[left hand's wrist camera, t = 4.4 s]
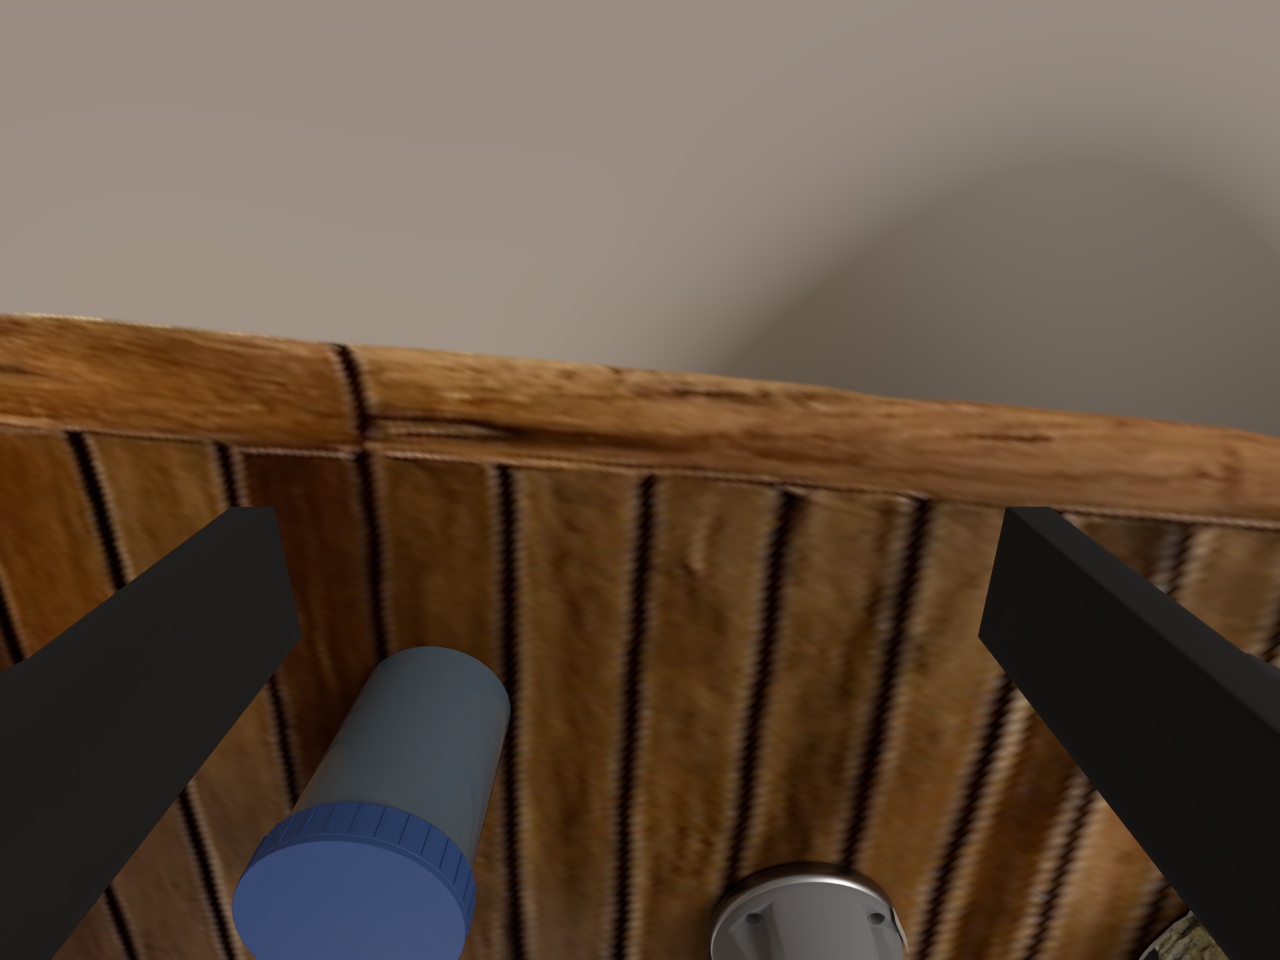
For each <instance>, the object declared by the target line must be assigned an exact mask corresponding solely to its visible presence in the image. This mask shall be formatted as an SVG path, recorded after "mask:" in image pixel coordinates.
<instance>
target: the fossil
mask: <svg viewBox="0 0 1280 960" xmlns="http://www.w3.org/2000/svg"><path fill="white" fill-rule="evenodd" d="M1139 960H1229V959H1228V958H1227V956H1226V955H1225V954H1224V952H1223V951H1222V950H1221V949H1220V947H1219V946H1218V945H1217V943H1216V942H1215V941H1214V940H1213V938H1212V937H1211V936H1210V934H1209V933H1208V932H1207V931H1206V929H1205V928H1204V927H1203V925H1202V924H1201V923H1200V922H1199V920H1198V919H1197V918H1196V916H1195V915H1194V914H1193V913H1192V911H1191V910H1190V912H1189V913H1188V915H1187V916H1186V917H1184V918H1182V919H1180V920H1179V921H1177V922H1175V923H1174V924H1173V925H1172V926H1170V927H1169V928H1168V929H1167V930H1166V931H1165V932H1164V933H1163V934H1162V935H1161V936H1160V937H1158V938H1157V939H1156V940H1155V941H1154V942H1153V943H1152V944H1151V945H1150V946H1149V947H1148V949H1147V950H1146V951H1145V952H1144V953H1143V954H1142V956H1141V957H1140V959H1139Z"/></svg>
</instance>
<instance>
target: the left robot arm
mask: <svg viewBox="0 0 1280 960" xmlns="http://www.w3.org/2000/svg"><path fill="white" fill-rule="evenodd" d="M301 637H302V634H301V630H300V625H299V621H298V616H297V611H296V607H295V602H294V598H293V593H292V588H291V584H290V579H289V574H288V570H287V565H286V561H285V556H284V551H283V547H282V542H281V538H280V533H279V528H278V524H277V519H276V515H275V510H274V507H230V508H229V509H228V510H226V511H225V512H224V513H222V514H221V515H220V516H218V517H217V518H216V519H214V520H213V521H212V522H210V523H209V524H208V525H206V526H205V527H204V528H202V529H201V530H200V531H198V532H197V533H196V534H194V535H193V536H191V537H190V538H189V539H187V540H186V541H185V542H183V543H182V544H181V545H179V546H178V547H177V548H175V549H174V550H173V551H171V552H170V553H169V554H167V555H166V556H165V557H163V558H162V559H161V560H159V561H158V562H157V563H155V564H154V565H153V566H151V567H150V568H149V569H147V570H146V571H145V572H143V573H142V574H141V575H139V576H138V577H137V578H135V579H134V580H133V581H131V582H130V583H129V584H127V585H126V586H125V587H123V588H122V589H121V590H119V591H118V592H116V593H115V594H114V595H112V596H111V597H110V598H108V599H107V600H106V601H104V602H103V603H102V604H100V605H99V606H98V607H96V608H95V609H94V610H92V611H91V612H90V613H88V614H87V615H86V616H84V617H83V618H82V619H80V620H79V621H78V622H76V623H75V624H74V625H72V626H71V627H70V628H68V629H67V630H66V631H64V632H63V633H62V634H60V635H59V636H58V637H56V638H55V639H54V640H52V641H51V642H50V643H48V644H47V645H46V646H44V647H43V648H41V649H40V650H39V651H37V652H36V653H35V654H33V655H32V656H31V657H29V658H27V659H25V660H23V661H21V662H19V663H17V664H15V665H13V666H11V667H9V668H7V669H5V670H3V671H1V672H0V960H51V959H52V958H53V956H54V955H55V954H56V952H57V951H58V950H59V949H60V947H61V946H62V945H63V943H64V942H65V941H66V940H67V938H68V937H69V936H70V934H71V933H72V932H73V931H74V929H75V928H76V927H77V925H78V924H79V923H80V922H81V920H82V919H83V918H84V916H85V915H86V914H87V913H88V911H89V910H90V909H91V907H92V906H93V905H94V904H95V902H96V901H97V900H98V898H99V897H100V896H101V895H102V893H103V892H104V891H105V889H106V888H107V887H108V886H109V884H110V883H111V882H112V880H113V879H114V878H115V877H116V875H117V874H118V873H119V871H120V870H121V869H122V868H123V866H124V865H125V864H126V862H127V861H128V860H129V859H130V857H131V856H132V855H133V853H134V852H135V851H136V850H137V848H138V847H139V846H140V844H141V843H142V842H143V840H144V839H145V838H146V837H147V835H148V834H149V833H150V831H151V830H152V829H153V828H154V826H155V825H156V824H157V822H158V821H159V820H160V819H161V817H162V816H163V815H164V813H165V812H166V811H167V810H168V808H169V807H170V806H171V804H172V803H173V802H174V801H175V799H176V798H177V797H178V795H179V794H180V793H181V792H182V790H183V789H184V788H185V786H186V785H187V784H188V783H189V781H190V780H191V779H192V777H193V776H194V775H195V774H196V772H197V771H198V770H199V768H200V767H201V766H202V765H203V763H204V762H205V761H206V759H207V758H208V757H209V756H210V754H211V753H212V752H213V750H214V749H215V748H216V747H217V745H218V744H219V743H220V741H221V740H222V739H223V738H224V736H225V735H226V734H227V732H228V731H229V730H230V729H231V727H232V726H233V725H234V723H235V722H236V721H237V720H238V718H239V717H240V716H241V714H242V713H243V712H244V711H245V709H246V708H247V707H248V705H249V704H250V703H251V702H252V700H253V699H254V698H255V696H256V695H257V694H258V693H259V691H260V690H261V689H262V687H263V686H264V685H265V684H266V682H267V681H268V680H269V678H270V677H271V676H272V675H273V673H274V672H275V671H276V669H277V668H278V667H279V665H280V664H281V663H282V662H283V660H284V659H285V658H286V656H287V655H288V654H289V653H290V651H291V650H292V649H293V647H294V646H295V645H296V644H297V642H298V641H299V640H300V638H301ZM978 637H979V638H980V640H981V641H982V642H983V644H984V645H985V646H986V647H987V649H988V650H989V651H990V653H991V654H992V655H993V656H994V658H995V659H996V660H997V662H998V663H999V664H1000V665H1001V667H1002V668H1003V669H1004V671H1005V672H1006V673H1007V675H1008V676H1009V677H1010V678H1011V680H1012V681H1013V682H1014V684H1015V685H1016V686H1017V687H1018V689H1019V690H1020V691H1021V693H1022V694H1023V695H1024V696H1025V698H1026V699H1027V700H1028V702H1029V703H1030V704H1031V705H1032V707H1033V708H1034V709H1035V711H1036V712H1037V713H1038V714H1039V716H1040V717H1041V718H1042V720H1043V721H1044V722H1045V723H1046V725H1047V726H1048V727H1049V729H1050V730H1051V731H1052V732H1053V734H1054V735H1055V736H1056V738H1057V739H1058V740H1059V741H1060V743H1061V744H1062V745H1063V747H1064V748H1065V749H1066V750H1067V752H1068V753H1069V754H1070V756H1071V757H1072V758H1073V759H1074V761H1075V762H1076V763H1077V765H1078V766H1079V767H1080V768H1081V770H1082V771H1083V772H1084V774H1085V775H1086V776H1087V777H1088V779H1089V780H1090V781H1091V783H1092V784H1093V785H1094V786H1095V788H1096V789H1097V790H1098V792H1099V793H1100V794H1101V795H1102V797H1103V798H1104V799H1105V801H1106V802H1107V803H1108V804H1109V806H1110V807H1111V808H1112V810H1113V811H1114V812H1115V813H1116V815H1117V816H1118V817H1119V819H1120V820H1121V821H1122V822H1123V824H1124V825H1125V826H1126V828H1127V829H1128V830H1129V831H1130V833H1131V834H1132V835H1133V837H1134V838H1135V839H1136V840H1137V842H1138V843H1139V844H1140V846H1141V847H1142V848H1143V850H1144V851H1145V852H1146V853H1147V855H1148V856H1149V857H1150V859H1151V860H1152V861H1153V862H1154V864H1155V865H1156V866H1157V868H1158V869H1159V870H1160V871H1161V873H1162V874H1163V875H1164V877H1165V878H1166V879H1167V880H1168V882H1169V883H1170V884H1171V886H1172V887H1173V888H1174V889H1175V891H1176V892H1177V893H1178V895H1179V896H1180V897H1181V898H1182V900H1183V901H1184V902H1185V904H1186V905H1187V906H1188V907H1189V909H1190V910H1191V911H1192V913H1193V914H1194V915H1195V916H1196V918H1197V919H1198V920H1199V922H1200V923H1201V924H1202V925H1203V927H1204V928H1205V929H1206V931H1207V932H1208V933H1209V934H1210V936H1211V937H1212V938H1213V940H1214V941H1215V942H1216V943H1217V945H1218V946H1219V947H1220V949H1221V950H1222V951H1223V952H1224V954H1225V955H1226V956H1227V958H1228V959H1229V960H1280V669H1279V668H1277V667H1275V666H1273V665H1271V664H1269V663H1267V662H1265V661H1263V660H1261V659H1259V658H1257V657H1255V656H1253V655H1251V654H1245V653H1244V652H1243V651H1241V650H1240V649H1239V648H1237V647H1236V646H1234V645H1233V644H1232V643H1230V642H1229V641H1228V640H1226V639H1225V638H1224V637H1222V636H1221V635H1220V634H1218V633H1217V632H1216V631H1214V630H1213V629H1212V628H1210V627H1209V626H1208V625H1206V624H1205V623H1204V622H1202V621H1201V620H1200V619H1198V618H1197V617H1196V616H1194V615H1193V614H1192V613H1190V612H1189V611H1188V610H1186V609H1185V608H1184V607H1182V606H1181V605H1180V604H1178V603H1177V602H1176V601H1174V600H1173V599H1172V598H1170V597H1169V596H1168V595H1166V594H1165V593H1164V592H1162V591H1161V590H1159V589H1158V588H1157V587H1155V586H1154V585H1153V584H1151V583H1150V582H1149V581H1147V580H1146V579H1145V578H1143V577H1142V576H1141V575H1139V574H1138V573H1137V572H1135V571H1134V570H1133V569H1131V568H1130V567H1129V566H1127V565H1126V564H1125V563H1123V562H1122V561H1121V560H1119V559H1118V558H1117V557H1115V556H1114V555H1113V554H1111V553H1110V552H1109V551H1107V550H1106V549H1105V548H1103V547H1102V546H1101V545H1099V544H1098V543H1097V542H1095V541H1094V540H1093V539H1091V538H1090V537H1089V536H1087V535H1086V534H1084V533H1083V532H1082V531H1080V530H1079V529H1078V528H1076V527H1075V526H1074V525H1072V524H1071V523H1070V522H1068V521H1067V520H1066V519H1064V518H1063V517H1062V516H1060V515H1059V514H1058V513H1056V512H1055V511H1054V510H1052V509H1051V508H1050V507H1006V510H1005V515H1004V519H1003V524H1002V528H1001V533H1000V538H999V542H998V547H997V551H996V556H995V561H994V565H993V570H992V574H991V579H990V584H989V588H988V593H987V598H986V602H985V607H984V611H983V616H982V621H981V625H980V630H979V634H978ZM709 934H710V946H711V956H712V960H904V955H903V941H904V943H905V945H906V947H907V950H908V945H907V940H906V936H905V934H904V931H903V929H902V927H901V924H900V922H899V920H898V917H897V915H896V913H895V910H894V907H893V905H892V902H891V900H890V898H889V897H888V895H887V894H886V893H885V891H884V890H883V889H882V888H881V887H880V886H879V885H878V884H877V883H875V882H874V881H873V880H871V879H870V878H868V877H866V876H865V875H863V874H861V873H859V872H857V871H854V870H851V869H849V868H845V867H842V866H837V865H832V864H825V863H796V864H789V865H783V866H779V867H775V868H771V869H768V870H765V871H762V872H760V873H758V874H755V875H753V876H751V877H749V878H747V879H746V880H744V881H742V882H741V883H739V884H738V885H737V886H735V887H734V888H733V889H732V890H730V891H729V892H728V893H727V894H726V895H725V896H724V898H723V899H722V900H721V901H720V903H719V904H718V906H717V907H716V909H715V911H714V913H713V916H712V918H711V922H710V929H709ZM902 938H903V940H902ZM908 952H909V950H908Z"/></svg>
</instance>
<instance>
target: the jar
mask: <svg viewBox="0 0 1280 960" xmlns="http://www.w3.org/2000/svg"><path fill="white" fill-rule="evenodd" d="M510 714H511V710H510V702H509V698H508V695H507V692H506V690H505V688H504V686H503V684H502V683H501V681H500V680H499V679H498V677H497V676H496V675H495V674H494V673H493V672H492V671H491V670H490V669H489V668H488V667H487V666H486V665H484V664H483V663H482V662H480V661H478V660H477V659H475V658H474V657H472V656H469V655H467V654H465V653H463V652H460V651H457V650H454V649H449V648H445V647H436V646H422V647H414V648H409V649H405V650H402V651H399V652H397V653H395V654H393V655H391V656H389V657H387V658H386V659H384V660H383V661H382V662H380V663H379V664H378V665H377V666H376V667H375V668H374V670H373V671H372V672H371V674H370V675H369V677H368V679H367V681H366V682H365V684H364V686H363V688H362V689H361V691H360V693H359V695H358V696H357V698H356V700H355V702H354V703H353V705H352V707H351V709H350V710H349V712H348V714H347V716H346V717H345V719H344V721H343V723H342V724H341V726H340V728H339V730H338V731H337V733H336V735H335V737H334V738H333V740H332V742H331V744H330V745H329V747H328V749H327V751H326V752H325V754H324V756H323V758H322V759H321V761H320V763H319V765H318V766H317V768H316V770H315V772H314V773H313V775H312V777H311V779H310V780H309V782H308V784H307V786H306V787H305V789H304V791H303V793H302V794H301V796H300V798H299V800H298V801H297V803H296V805H295V807H294V808H293V810H292V812H291V814H290V815H289V816H291V815H293V814H294V813H297V812H299V811H301V810H304V809H307V808H310V807H313V806H317V805H322V804H326V803H335V802H366V803H374V804H379V805H384V806H389V807H392V808H396V809H399V810H402V811H405V812H407V813H410V814H412V815H415V816H417V817H419V818H421V819H423V820H425V821H427V822H428V823H430V824H432V825H433V826H435V827H436V828H438V829H439V830H440V831H442V832H443V833H444V834H445V835H446V836H448V837H449V838H450V839H451V840H452V841H453V842H454V843H455V844H456V845H457V847H458V848H459V849H460V850H461V852H462V853H463V854H464V856H465V857H466V859H467V861H468V863H469V865H470V867H471V870H472V869H473V865H474V861H475V857H476V853H477V849H478V845H479V841H480V837H481V833H482V829H483V825H484V821H485V817H486V813H487V809H488V805H489V801H490V797H491V793H492V789H493V785H494V781H495V777H496V773H497V769H498V765H499V761H500V757H501V753H502V749H503V745H504V741H505V737H506V733H507V729H508V725H509V721H510Z"/></svg>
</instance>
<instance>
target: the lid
mask: <svg viewBox="0 0 1280 960" xmlns="http://www.w3.org/2000/svg"><path fill="white" fill-rule="evenodd" d="M475 892H476V886H475V881H474V876H473V873H472V870H471V867H470V865H469V863H468V861H467V859H466V857H465V856H464V854H463V853H462V852H461V850H460V849H459V848H458V847H457V845H456V844H455V843H454V842H453V841H452V840H451V839H450V838H449V837H448V836H446V835H445V834H444V833H443V832H442V831H440V830H439V829H438V828H436V827H435V826H433V825H432V824H430V823H428V822H427V821H425V820H423V819H421V818H419V817H417V816H415V815H412V814H410V813H407V812H405V811H402V810H399V809H396V808H392V807H389V806H384V805H379V804H374V803H366V802H335V803H326V804H322V805H317V806H313V807H310V808H307V809H304V810H301V811H299V812H297V813H294V814H293V815H291V816H289V817H287V818H286V819H284V820H283V821H281V822H280V823H277V824H276V826H275V827H274V828H273V829H272V830H271V831H270V832H269V834H268V835H267V836H264V838H263V839H262V841H261V843H260V844H259V846H258V848H257V849H256V851H255V853H254V854H253V856H252V858H251V860H250V861H249V863H248V865H247V867H246V869H245V871H244V873H243V874H242V876H241V878H240V879H239V883H238V885H237V887H236V890H235V893H234V897H233V905H232V912H233V920H234V923H235V926H236V930H237V932H238V934H239V936H240V938H241V940H242V941H243V943H244V944H245V945H246V947H247V948H248V950H249V951H250V952H251V953H252V954H253V955H254V956H255V957H256V958H257V959H258V960H458V958H459V956H460V954H461V952H462V950H463V946H464V942H465V939H466V934H468V933H469V929H470V925H471V920H472V916H473V912H474V908H475V903H476V902H474V901H475Z"/></svg>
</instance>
